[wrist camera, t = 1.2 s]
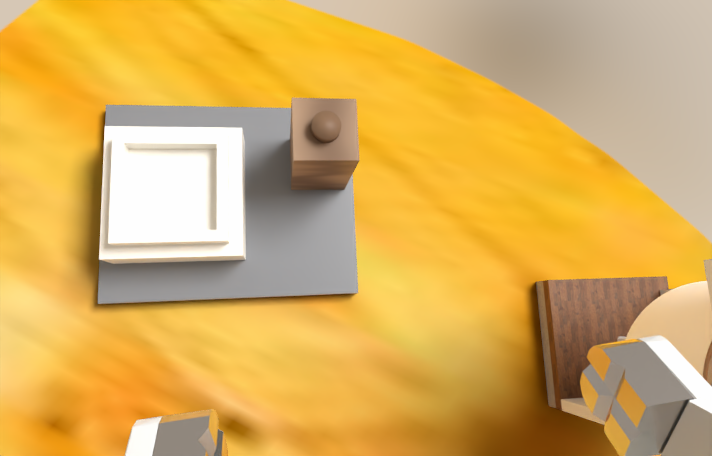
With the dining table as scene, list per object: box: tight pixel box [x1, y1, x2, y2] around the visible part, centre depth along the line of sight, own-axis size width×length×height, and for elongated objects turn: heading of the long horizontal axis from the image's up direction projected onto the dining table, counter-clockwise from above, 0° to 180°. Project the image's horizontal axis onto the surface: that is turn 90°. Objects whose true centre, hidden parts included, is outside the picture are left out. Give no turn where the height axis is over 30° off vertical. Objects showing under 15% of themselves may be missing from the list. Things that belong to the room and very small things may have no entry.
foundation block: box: [99, 126, 246, 264], centre depth 37 cm, size 10×10×4 cm
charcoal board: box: [98, 105, 358, 304], centre depth 40 cm, size 20×16×1 cm
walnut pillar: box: [290, 98, 359, 190], centre depth 37 cm, size 4×4×9 cm
